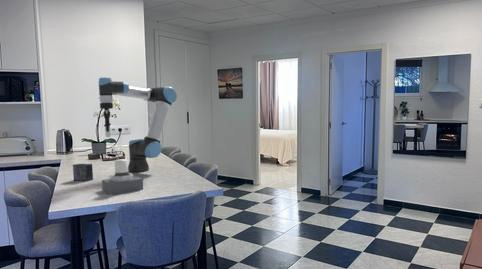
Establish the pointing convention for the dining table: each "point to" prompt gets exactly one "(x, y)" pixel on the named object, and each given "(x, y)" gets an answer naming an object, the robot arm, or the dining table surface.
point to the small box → (82, 172)
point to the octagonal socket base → (122, 184)
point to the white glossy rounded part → (121, 167)
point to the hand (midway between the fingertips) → (108, 136)
